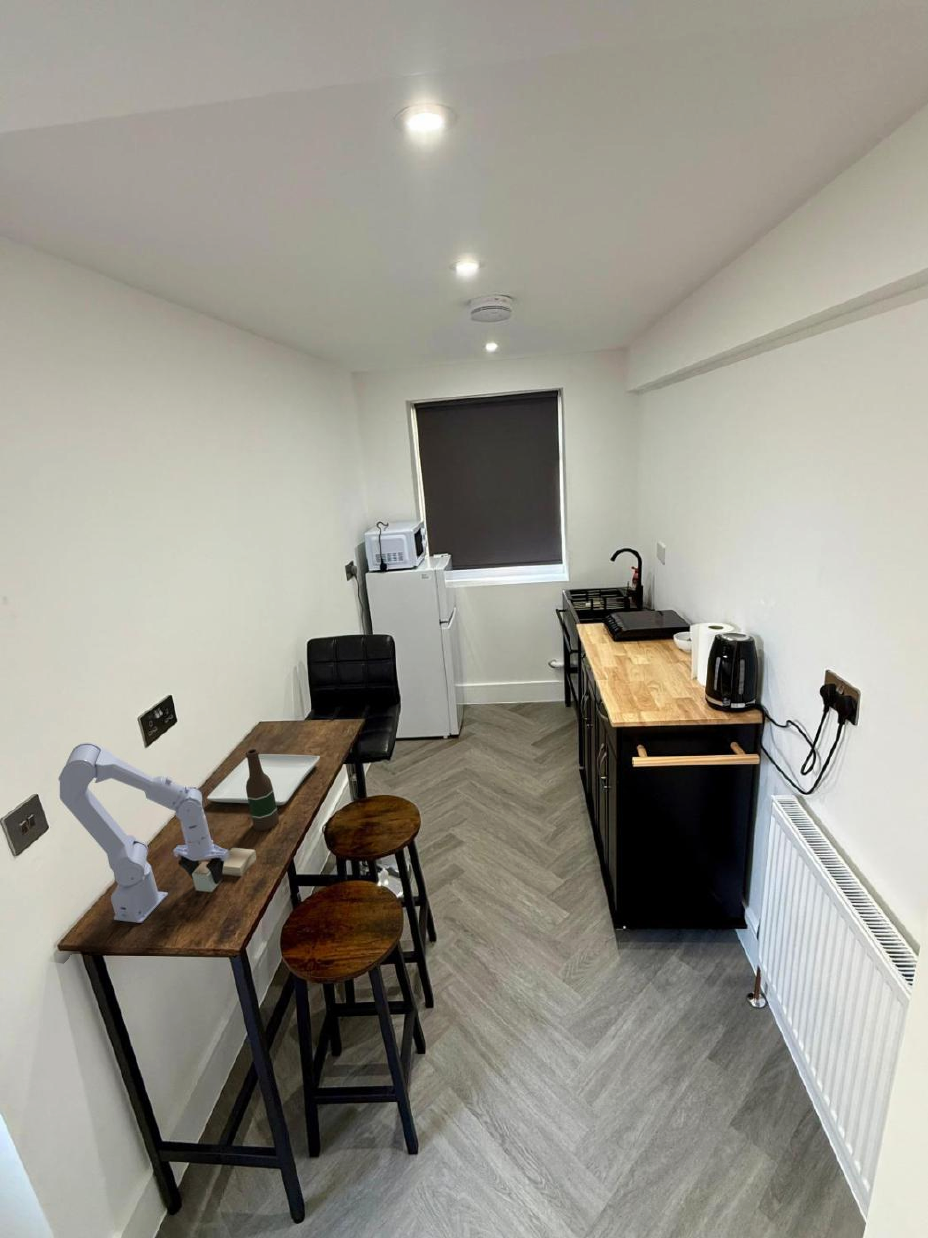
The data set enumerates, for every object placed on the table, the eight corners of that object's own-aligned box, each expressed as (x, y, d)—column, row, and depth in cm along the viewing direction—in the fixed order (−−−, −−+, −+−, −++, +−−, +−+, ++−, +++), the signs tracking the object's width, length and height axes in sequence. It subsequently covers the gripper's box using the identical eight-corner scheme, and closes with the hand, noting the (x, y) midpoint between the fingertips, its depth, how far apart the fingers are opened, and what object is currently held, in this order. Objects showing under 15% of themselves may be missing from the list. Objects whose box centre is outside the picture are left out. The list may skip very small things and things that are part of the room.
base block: (241, 877, 153) (239, 867, 152) (218, 874, 155) (216, 865, 154) (256, 859, 159) (255, 850, 159) (234, 856, 161) (232, 847, 160)
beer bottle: (282, 814, 178) (269, 743, 171) (276, 830, 170) (261, 757, 164) (257, 816, 178) (242, 745, 171) (249, 832, 170) (233, 759, 163)
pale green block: (211, 892, 148) (207, 874, 147) (196, 890, 149) (191, 872, 148) (222, 879, 152) (217, 861, 151) (207, 878, 153) (202, 860, 152)
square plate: (207, 808, 185) (204, 797, 184) (251, 762, 210) (249, 752, 209) (286, 811, 180) (284, 800, 179) (322, 764, 205) (320, 754, 204)
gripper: (231, 827, 148) (242, 871, 152) (182, 823, 152) (193, 867, 156) (215, 845, 142) (226, 891, 146) (163, 841, 145) (175, 886, 149)
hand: (208, 880), depth 150 cm, fingers open, 6 cm apart
